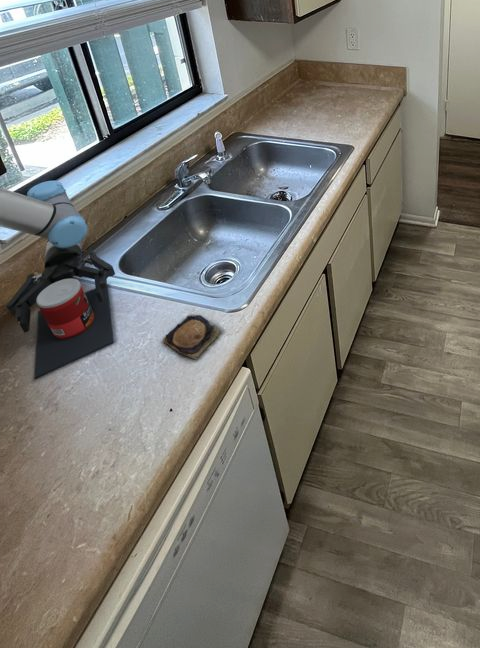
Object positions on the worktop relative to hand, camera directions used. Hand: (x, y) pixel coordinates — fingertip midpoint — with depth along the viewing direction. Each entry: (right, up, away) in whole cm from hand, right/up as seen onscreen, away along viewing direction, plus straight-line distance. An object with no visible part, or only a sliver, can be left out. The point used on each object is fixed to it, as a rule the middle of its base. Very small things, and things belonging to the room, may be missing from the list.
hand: (63, 312), depth 96 cm
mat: (-2, -6, +6) cm, 8 cm away
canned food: (-1, -6, +6) cm, 8 cm away
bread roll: (+27, -7, +3) cm, 28 cm away
